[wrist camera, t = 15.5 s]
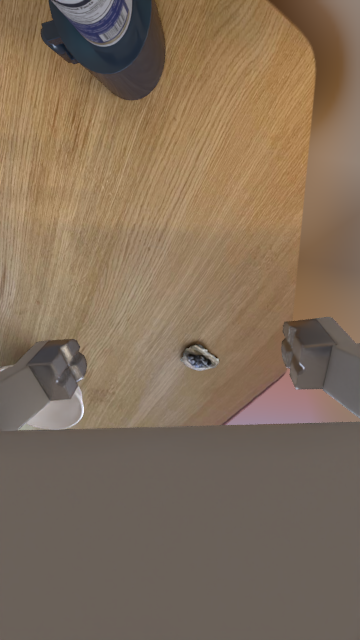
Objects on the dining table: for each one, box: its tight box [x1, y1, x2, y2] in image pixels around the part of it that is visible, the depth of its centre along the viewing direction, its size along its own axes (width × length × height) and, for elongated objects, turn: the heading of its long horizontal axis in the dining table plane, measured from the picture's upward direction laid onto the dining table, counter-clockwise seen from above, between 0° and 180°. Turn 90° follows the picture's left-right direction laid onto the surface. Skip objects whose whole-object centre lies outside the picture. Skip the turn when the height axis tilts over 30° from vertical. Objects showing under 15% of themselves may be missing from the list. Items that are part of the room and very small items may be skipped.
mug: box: [41, 0, 166, 100], centre depth 23 cm, size 11×8×9 cm
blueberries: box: [181, 345, 219, 371], centre depth 48 cm, size 7×8×2 cm
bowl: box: [0, 364, 84, 430], centre depth 53 cm, size 20×20×6 cm
